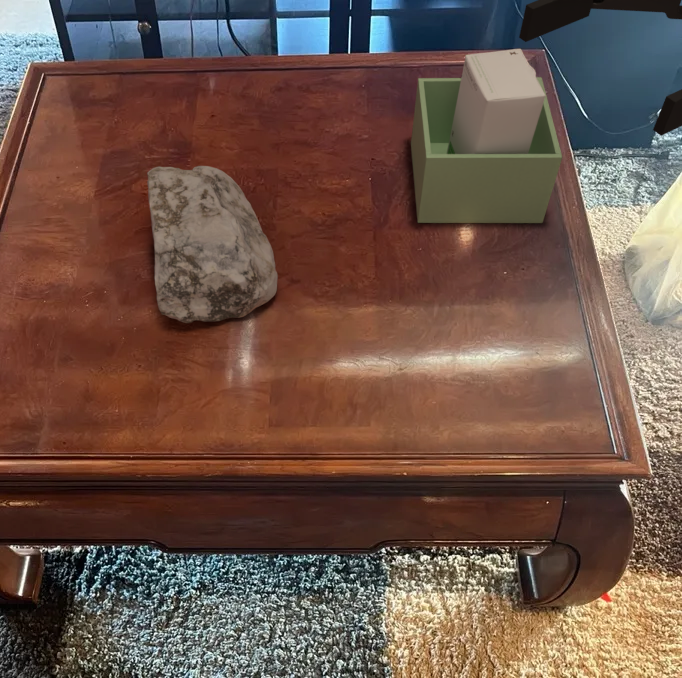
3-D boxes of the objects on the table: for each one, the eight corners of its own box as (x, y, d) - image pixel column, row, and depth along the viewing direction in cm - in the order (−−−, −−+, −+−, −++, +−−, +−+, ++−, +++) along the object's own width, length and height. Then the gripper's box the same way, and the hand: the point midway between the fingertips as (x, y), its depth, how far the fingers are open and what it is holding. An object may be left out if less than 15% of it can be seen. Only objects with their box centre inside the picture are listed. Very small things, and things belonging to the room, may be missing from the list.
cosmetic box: (443, 166, 98) (461, 52, 86) (496, 159, 99) (522, 45, 86) (462, 213, 93) (484, 99, 81) (518, 206, 93) (548, 91, 81)
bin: (542, 223, 92) (562, 157, 85) (417, 223, 93) (426, 157, 86) (525, 143, 101) (541, 77, 94) (410, 143, 102) (418, 78, 94)
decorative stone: (136, 200, 95) (141, 139, 87) (247, 199, 99) (262, 140, 90) (154, 342, 86) (161, 289, 78) (275, 335, 89) (295, 284, 81)
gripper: (912, 99, 60) (710, 207, 54) (655, -40, 73) (470, 34, 67) (978, 4, 54) (758, 113, 48) (685, -128, 67) (485, -56, 61)
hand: (589, 67), depth 58 cm, fingers open, 13 cm apart
